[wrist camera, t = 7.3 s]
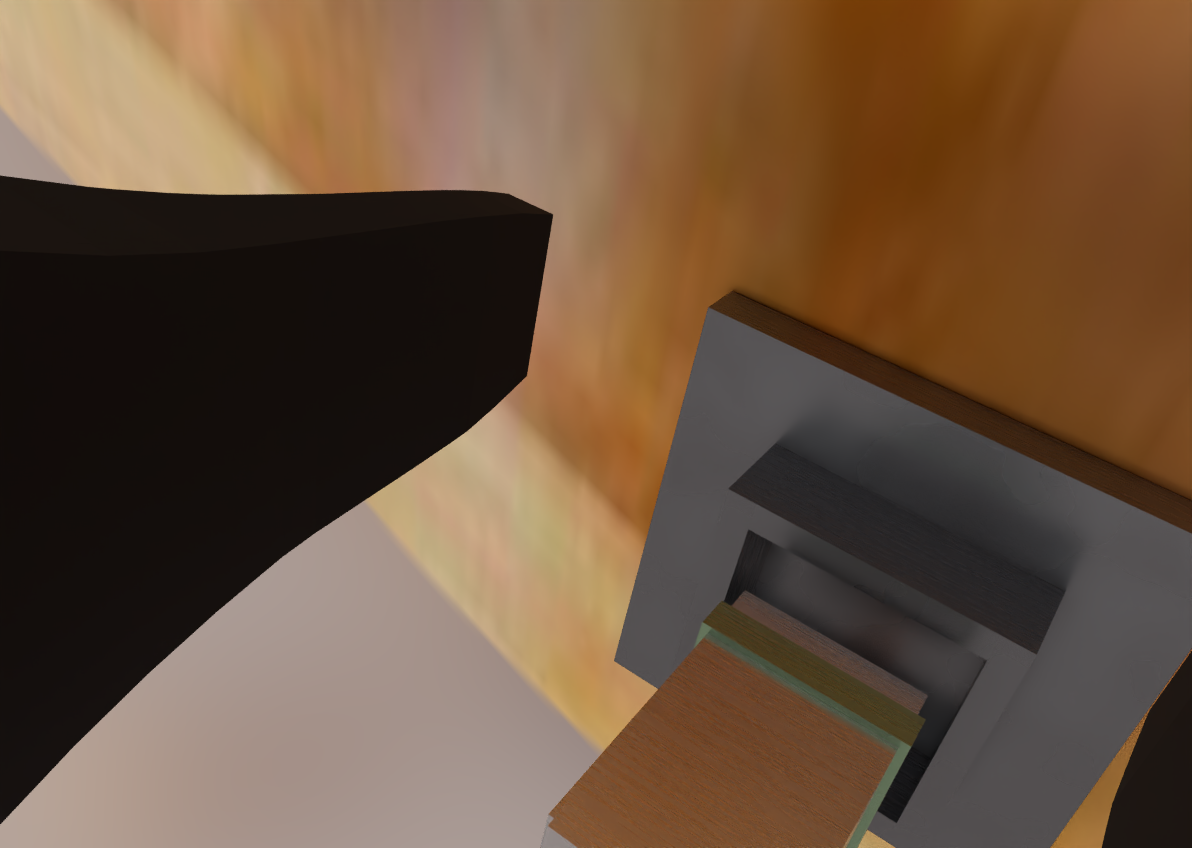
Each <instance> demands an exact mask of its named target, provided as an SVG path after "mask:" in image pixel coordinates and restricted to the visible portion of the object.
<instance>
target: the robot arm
mask: <svg viewBox="0 0 1192 848" xmlns="http://www.w3.org/2000/svg"><path fill="white" fill-rule="evenodd" d="M552 219H553V214H551V213H549V212H547V211H544V210H542V209H540V208H538V207H536V206H534V205H531V204H529V203H527V202H525V201H523V200H521V199H518V198H516V197H514V196H512V195H510V194H505V193H497V192H488V191H467V190H430V191H393V192H364V193H335V194H264V195H208V194H179V193H160V192H145V191H131V190H116V189H104V188H94V187H85V186H77V185H69V184H60V183H54V182H45V181H37V180H30V179H22V178H14V177H6V176H0V824H1V823H2V822H3V821H4V820H5V819H6V818H7V817H8V816H9V815H10V813H11V812H12V811H13V810H14V809H15V808H16V807H17V806H18V805H19V804H20V803H21V802H22V801H23V800H24V798H25V797H27V796H28V794H29V793H30V792H31V791H32V790H33V789H34V788H35V787H36V786H37V785H38V784H39V783H40V782H41V781H42V780H43V779H44V777H45V776H46V775H47V774H48V773H49V772H50V771H51V770H52V769H53V768H54V767H55V766H56V765H57V764H58V763H59V761H60V760H61V759H62V758H63V757H64V756H65V755H66V754H67V753H68V752H69V751H70V750H71V749H72V748H73V747H74V746H75V745H76V744H77V743H78V742H79V741H80V740H81V739H82V738H83V737H84V736H85V735H86V734H87V733H88V732H89V731H90V730H91V729H92V728H93V727H94V726H95V725H96V724H97V723H98V722H99V721H100V720H101V719H102V718H103V717H104V716H105V715H106V714H107V713H108V712H109V711H111V710H112V709H113V708H114V707H115V706H116V705H117V704H118V703H119V702H120V701H121V700H122V699H123V698H124V697H125V696H126V695H127V694H128V693H129V692H130V691H131V690H132V689H133V688H134V687H135V686H136V685H137V684H138V683H139V682H140V681H141V680H142V679H143V678H144V677H145V676H146V675H147V674H148V673H149V672H151V671H152V670H153V669H154V668H155V667H156V666H157V665H158V664H159V663H160V662H162V661H163V660H164V659H165V658H166V657H167V656H168V655H169V654H170V653H172V652H173V651H174V650H175V649H176V648H177V647H178V646H179V645H180V644H182V643H183V642H184V641H185V640H186V639H187V638H188V637H189V636H190V635H192V634H193V633H194V632H195V631H196V630H197V629H198V628H199V627H200V626H201V625H203V624H204V623H205V622H206V621H207V620H208V619H209V618H210V617H211V616H212V615H214V614H215V613H216V612H217V611H218V610H219V609H221V608H222V607H223V606H224V605H225V604H226V603H228V602H229V601H230V600H231V599H233V598H234V597H235V596H236V595H237V594H238V593H240V592H241V591H242V590H243V589H244V588H246V587H247V586H248V585H249V584H250V583H251V582H253V581H254V580H255V579H256V578H257V577H259V576H260V575H261V574H262V573H264V572H265V571H266V570H267V569H268V568H269V567H271V566H272V565H273V564H274V563H275V562H277V561H278V560H279V559H280V558H282V557H283V556H284V555H286V554H287V553H288V552H290V551H291V550H292V549H294V548H295V547H297V546H298V545H299V544H301V543H302V542H303V541H305V540H306V539H307V538H309V537H310V536H312V535H313V534H314V533H316V532H317V531H319V530H320V529H322V528H323V527H325V526H327V525H328V524H330V523H331V522H332V521H334V520H336V519H337V518H339V517H340V516H342V515H343V514H344V513H346V512H348V511H349V510H351V509H352V508H353V507H355V506H357V505H358V504H360V503H361V502H363V501H364V500H366V499H367V498H369V497H370V496H372V495H373V494H375V493H376V492H378V491H379V490H381V489H382V488H384V487H386V486H387V485H389V484H390V483H392V482H393V481H395V480H396V479H398V478H399V477H401V476H402V475H404V474H405V473H407V472H408V471H410V470H411V469H413V468H414V467H416V466H417V465H419V464H420V463H422V462H423V461H425V460H426V459H428V458H429V457H430V456H432V455H433V454H435V453H436V452H438V451H439V450H441V449H442V448H444V447H445V446H447V445H448V444H450V443H451V442H452V441H454V440H455V439H457V438H458V437H460V436H461V435H462V434H464V433H465V432H467V431H468V430H469V429H470V428H471V427H472V426H474V425H475V424H476V423H477V422H478V421H479V420H480V419H482V418H483V417H484V416H485V415H486V414H487V413H488V412H490V411H491V410H492V409H493V408H494V407H495V406H496V405H497V404H498V403H499V402H500V401H501V400H502V399H503V398H504V397H506V396H507V395H508V394H509V393H510V392H511V391H512V390H513V389H514V388H515V387H516V386H517V385H518V384H519V383H520V382H521V381H522V380H523V379H524V378H525V377H526V376H527V372H528V366H529V359H530V353H531V347H532V341H533V335H534V329H535V323H536V317H537V311H538V304H539V298H540V292H541V286H542V280H543V274H544V268H545V262H546V255H547V249H548V243H549V237H550V231H551V225H552ZM1102 848H1192V652H1191V653H1190V654H1189V656H1188V657H1187V659H1186V660H1185V662H1184V663H1183V664H1182V666H1181V667H1180V669H1179V670H1178V671H1177V673H1176V674H1175V676H1174V677H1173V678H1172V680H1171V681H1170V683H1169V684H1168V685H1167V687H1166V688H1165V690H1164V691H1163V692H1162V694H1161V695H1160V697H1159V698H1158V699H1157V701H1156V702H1155V704H1154V705H1153V706H1152V708H1151V709H1150V711H1149V713H1148V715H1147V718H1146V720H1145V723H1144V725H1143V728H1142V730H1141V733H1140V735H1139V737H1138V740H1137V742H1136V745H1135V747H1134V750H1133V752H1132V755H1131V757H1130V760H1129V762H1128V765H1127V767H1126V770H1125V772H1124V775H1123V777H1122V780H1121V783H1120V785H1119V788H1118V790H1117V793H1116V796H1115V798H1114V801H1113V803H1112V807H1111V811H1110V815H1109V820H1108V824H1107V828H1106V832H1105V836H1104V840H1103V845H1102Z"/></svg>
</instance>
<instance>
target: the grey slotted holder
mask: <svg viewBox="0 0 1192 848" xmlns="http://www.w3.org/2000/svg"><path fill="white" fill-rule="evenodd" d="M745 590H746V591H748V592H750V593H751V594H753V595H755V596H756V597H758V598H760V599H762V600H763V601H765V602H767V603H769V604H770V605H772V606H774V607H776V608H777V609H779V610H781V611H783V612H784V613H786V614H788V615H790V616H791V617H793V618H795V619H797V620H798V621H800V622H802V623H803V624H805V625H807V626H809V627H810V628H812V629H814V630H816V631H817V632H819V633H821V634H823V635H824V636H826V637H828V638H830V639H831V640H833V641H835V642H837V643H838V644H840V645H842V646H844V647H845V648H847V649H849V650H850V651H852V652H854V653H856V654H857V655H859V656H861V657H863V658H864V659H866V660H868V661H870V662H871V663H873V664H875V665H877V666H878V667H880V668H882V669H884V670H885V671H887V672H889V673H891V674H892V675H894V676H896V677H897V678H899V679H901V680H903V681H904V682H906V683H908V684H910V685H911V686H913V687H915V688H917V689H918V690H920V691H922V692H924V693H925V694H927V695H928V697H927V699H926V700H925V702H924V704H923V706H922V708H921V710H920V712H919V714H918V715H919V716H921V717H922V718H924V719H926V720H925V722H924V724H923V726H922V728H921V730H920V732H919V733H918V735H917V737H916V739H915V741H914V743H913V745H912V747H911V748H910V750H909V752H908V754H907V756H906V758H905V760H904V762H903V763H902V765H901V767H900V769H899V771H898V773H897V775H896V776H895V778H894V780H893V782H892V784H891V786H890V788H889V790H888V791H887V793H886V795H885V797H884V799H883V801H882V803H881V805H880V806H879V808H878V810H877V812H876V814H875V816H874V818H873V819H872V821H871V823H870V825H869V827H868V829H867V830H869V831H871V832H872V833H874V834H875V835H877V836H878V837H880V838H882V839H883V840H885V841H886V842H888V843H889V844H891V845H892V846H894V847H896V848H1050V847H1051V846H1052V844H1053V843H1054V841H1055V840H1056V838H1057V837H1058V836H1059V834H1060V833H1061V831H1062V830H1063V829H1064V827H1065V826H1066V824H1067V823H1068V822H1069V820H1070V819H1071V817H1072V816H1073V815H1074V813H1075V812H1076V810H1077V809H1078V808H1079V806H1080V805H1081V803H1082V802H1083V801H1084V799H1085V798H1086V796H1087V795H1088V793H1089V792H1090V791H1091V789H1092V788H1093V786H1094V785H1095V784H1096V782H1097V781H1098V779H1099V778H1100V777H1101V775H1102V774H1103V772H1104V771H1105V770H1106V768H1107V767H1108V765H1109V764H1110V763H1111V761H1112V760H1113V758H1114V757H1115V756H1116V754H1117V753H1118V751H1119V750H1120V748H1121V747H1122V746H1123V744H1124V743H1125V741H1126V740H1127V739H1128V737H1129V736H1130V734H1131V733H1132V732H1133V730H1134V729H1135V727H1136V726H1137V725H1138V723H1139V722H1140V720H1141V719H1142V718H1143V716H1144V715H1145V713H1146V712H1147V711H1148V709H1149V708H1150V706H1151V705H1152V703H1153V702H1154V701H1155V699H1156V698H1157V696H1158V695H1159V694H1160V692H1161V691H1162V689H1163V688H1164V687H1165V685H1166V684H1167V682H1168V681H1169V680H1170V678H1171V677H1172V675H1173V674H1174V673H1175V671H1176V670H1177V668H1178V667H1179V665H1180V664H1181V663H1182V661H1183V660H1184V658H1185V657H1186V656H1187V654H1188V653H1189V651H1190V650H1191V649H1192V501H1190V500H1188V499H1186V498H1184V497H1182V496H1179V495H1177V494H1175V493H1173V492H1171V491H1169V490H1166V489H1164V488H1162V487H1160V486H1158V485H1155V484H1153V483H1151V482H1149V481H1147V480H1144V479H1142V478H1140V477H1138V476H1136V475H1134V474H1131V473H1129V472H1127V471H1125V470H1123V469H1120V468H1118V467H1116V466H1114V465H1112V464H1109V463H1107V462H1105V461H1103V460H1101V459H1099V458H1096V457H1094V456H1092V455H1090V454H1088V453H1085V452H1083V451H1081V450H1079V449H1077V448H1074V447H1072V446H1070V445H1068V444H1066V443H1064V442H1061V441H1059V440H1057V439H1055V438H1053V437H1050V436H1048V435H1046V434H1044V433H1042V432H1039V431H1037V430H1035V429H1033V428H1031V427H1029V426H1026V425H1024V424H1022V423H1020V422H1018V421H1015V420H1013V419H1011V418H1009V417H1007V416H1004V415H1002V414H1000V413H998V412H996V411H994V410H991V409H989V408H987V407H985V406H983V405H980V404H978V403H976V402H974V401H972V400H969V399H967V398H965V397H963V396H961V395H959V394H956V393H954V392H952V391H950V390H948V389H945V388H943V387H941V386H939V385H937V384H934V383H932V382H930V381H928V380H926V379H924V378H921V377H919V376H917V375H915V374H913V373H910V372H908V371H906V370H904V369H902V368H899V367H897V366H895V365H893V364H891V363H889V362H886V361H884V360H882V359H880V358H878V357H875V356H873V355H871V354H869V353H867V352H864V351H862V350H860V349H858V348H856V347H854V346H851V345H849V344H847V343H845V342H843V341H840V340H838V339H836V338H834V337H832V336H829V335H827V334H825V333H823V332H821V331H819V330H816V329H814V328H812V327H810V326H808V325H805V324H803V323H801V322H799V321H797V320H794V319H792V318H790V317H788V316H786V315H784V314H781V313H779V312H777V311H775V310H773V309H770V308H768V307H766V306H764V305H762V304H759V303H757V302H755V301H753V300H751V299H749V298H746V297H744V296H742V295H740V294H738V293H735V292H733V291H732V292H730V293H729V294H727V295H726V296H724V297H723V298H721V299H720V300H718V301H717V302H716V303H714V304H713V305H711V306H710V307H708V311H707V314H706V318H705V322H704V326H703V329H702V333H701V337H700V341H699V344H698V348H697V352H696V356H695V359H694V363H693V367H692V370H691V374H690V378H689V382H688V385H687V389H686V393H685V397H684V400H683V404H682V408H681V412H680V415H679V419H678V423H677V427H676V430H675V434H674V438H673V442H672V445H671V449H670V453H669V457H668V460H667V464H666V468H665V472H664V475H663V479H662V483H661V487H660V490H659V494H658V498H657V502H656V505H655V509H654V513H653V517H652V520H651V524H650V528H649V532H648V535H647V539H646V543H645V547H644V550H643V554H642V558H641V562H640V565H639V569H638V573H637V577H636V580H635V584H634V588H633V592H632V595H631V599H630V603H629V607H628V610H627V614H626V618H625V622H624V625H623V629H622V633H621V637H620V640H619V644H618V648H617V652H616V655H615V659H614V661H615V662H617V663H618V664H620V665H621V666H623V667H625V668H626V669H628V670H629V671H631V672H632V673H634V674H636V675H637V676H639V677H640V678H642V679H643V680H645V681H647V682H648V683H650V684H651V685H653V686H654V687H656V688H658V689H659V688H660V687H661V686H662V685H663V683H664V682H665V681H666V680H667V679H668V678H669V677H670V675H671V674H672V673H673V672H674V671H675V670H676V669H677V667H678V666H679V665H680V664H681V663H682V662H683V661H684V659H685V658H686V657H687V656H688V655H689V654H690V653H691V651H692V650H693V649H694V646H695V643H696V640H697V637H698V634H699V631H700V628H701V625H702V622H703V621H704V620H705V619H706V617H707V616H708V615H709V614H710V613H711V612H712V611H713V610H714V609H715V607H716V606H717V605H718V604H719V603H720V602H721V601H724V602H725V603H727V604H729V605H730V606H732V605H733V604H734V603H735V601H736V600H737V599H738V598H739V597H740V596H741V595H742V593H743V592H744V591H745Z"/></svg>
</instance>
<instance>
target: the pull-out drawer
mask: <svg viewBox="0 0 1192 848" xmlns="http://www.w3.org/2000/svg"><path fill="white" fill-rule="evenodd" d="M927 697H928V695H927V694H925V693H924V692H922V691H920V690H918V689H917V688H915V687H913V686H911V685H910V684H908V683H906V682H904V681H903V680H901V679H899V678H897V677H896V676H894V675H892V674H891V673H889V672H887V671H885V670H884V669H882V668H880V667H878V666H877V665H875V664H873V663H871V662H870V661H868V660H866V659H864V658H863V657H861V656H859V655H857V654H856V653H854V652H852V651H850V650H849V649H847V648H845V647H844V646H842V645H840V644H838V643H837V642H835V641H833V640H831V639H830V638H828V637H826V636H824V635H823V634H821V633H819V632H817V631H816V630H814V629H812V628H810V627H809V626H807V625H805V624H803V623H802V622H800V621H798V620H797V619H795V618H793V617H791V616H790V615H788V614H786V613H784V612H783V611H781V610H779V609H777V608H776V607H774V606H772V605H770V604H769V603H767V602H765V601H763V600H762V599H760V598H758V597H756V596H755V595H753V594H751V593H750V592H748V591H746V590H745V591H744V592H743V593H742V595H741V596H740V597H739V598H738V599H737V600H736V601H735V603H734V604H733V605H732V606H730V605H729V604H727V603H725V602H724V601H721V602H720V603H719V604H718V605H717V606H716V607H715V609H714V610H713V611H712V612H711V613H710V614H709V615H708V616H707V617H706V619H705V620H704V621H703V622H702V625H701V628H700V631H699V634H698V637H697V640H696V643H695V646H694V649H693V650H692V651H691V653H690V654H689V655H688V656H687V657H686V658H685V659H684V661H683V662H682V663H681V664H680V665H679V666H678V667H677V669H676V670H675V671H674V672H673V673H672V674H671V675H670V677H669V678H668V679H667V680H666V681H665V682H664V683H663V685H662V686H661V687H660V688H659V689H658V690H657V691H656V692H655V694H654V695H653V696H652V697H651V698H650V699H649V700H648V702H647V703H646V704H645V705H644V706H643V707H642V708H641V710H640V711H639V712H638V713H637V714H636V715H635V716H634V718H633V719H632V720H631V721H630V722H629V723H628V724H627V726H626V727H625V728H624V729H623V730H622V731H621V732H620V733H619V735H618V736H617V737H616V738H615V739H614V740H613V741H612V743H611V744H610V745H609V746H608V747H607V748H606V749H605V751H604V752H603V753H602V754H601V755H600V756H599V757H598V759H597V760H596V761H595V762H594V763H593V764H592V765H591V767H590V768H589V769H588V770H587V771H586V772H585V773H584V774H583V776H582V777H581V778H580V779H579V780H578V781H577V782H576V784H575V785H574V786H573V787H572V788H571V789H570V791H569V792H568V793H567V794H566V795H565V796H564V797H563V798H562V800H561V801H560V802H559V803H558V804H557V805H556V806H555V808H554V809H553V810H552V811H551V812H550V813H549V815H548V818H547V823H546V827H545V831H544V835H543V839H542V843H541V847H540V848H858V846H859V844H860V842H861V840H862V838H863V836H864V834H865V833H866V831H867V829H868V827H869V825H870V823H871V821H872V819H873V818H874V816H875V814H876V812H877V810H878V808H879V806H880V805H881V803H882V801H883V799H884V797H885V795H886V793H887V791H888V790H889V788H890V786H891V784H892V782H893V780H894V778H895V776H896V775H897V773H898V771H899V769H900V767H901V765H902V763H903V762H904V760H905V758H906V756H907V754H908V752H909V750H910V748H911V747H912V745H913V743H914V741H915V739H916V737H917V735H918V733H919V732H920V730H921V728H922V726H923V724H924V722H925V720H926V719H924V718H922V717H921V716H919V715H918V714H919V712H920V710H921V708H922V706H923V704H924V702H925V700H926V699H927Z"/></svg>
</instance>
